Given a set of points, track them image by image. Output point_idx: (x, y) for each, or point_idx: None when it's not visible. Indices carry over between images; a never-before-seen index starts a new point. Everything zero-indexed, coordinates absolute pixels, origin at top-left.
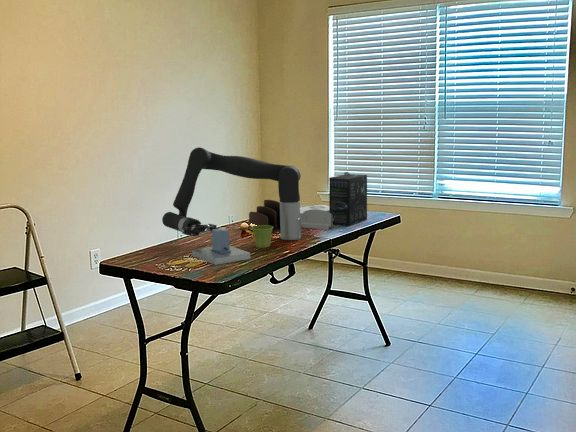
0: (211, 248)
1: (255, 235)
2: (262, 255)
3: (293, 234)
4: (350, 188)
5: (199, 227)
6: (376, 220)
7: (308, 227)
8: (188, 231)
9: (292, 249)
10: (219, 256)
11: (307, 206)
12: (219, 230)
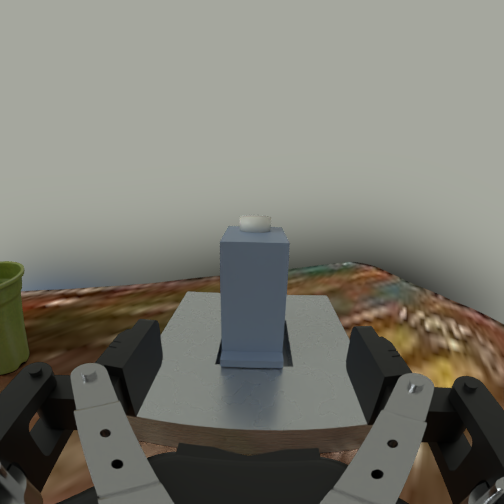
0: (259, 395)
1: (12, 313)
2: (129, 313)
3: None
4: None
5: (263, 456)
6: None
7: None
8: (450, 395)
9: (31, 303)
10: (301, 303)
11: None
12: (270, 228)
